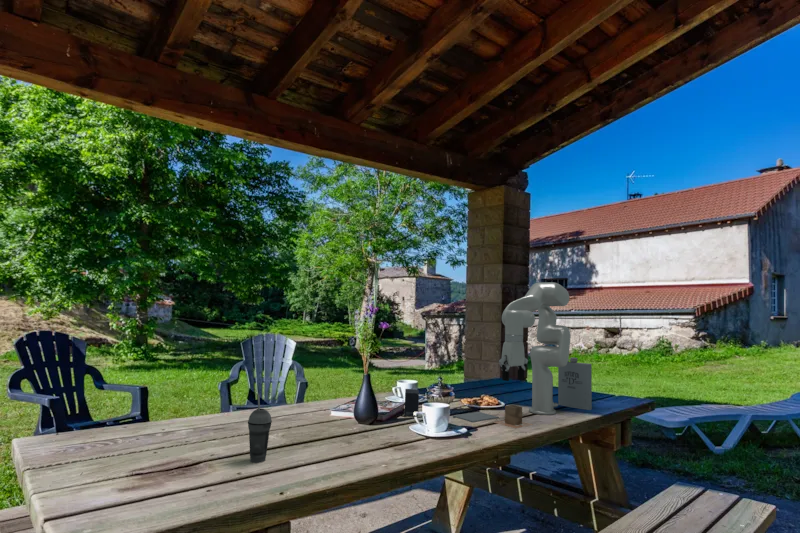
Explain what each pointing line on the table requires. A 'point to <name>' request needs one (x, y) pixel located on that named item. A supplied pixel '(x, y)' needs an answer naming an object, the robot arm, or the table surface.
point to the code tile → (513, 425)
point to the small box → (411, 401)
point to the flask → (575, 385)
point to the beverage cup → (259, 433)
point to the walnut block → (513, 414)
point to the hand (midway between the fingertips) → (513, 380)
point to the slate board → (475, 416)
